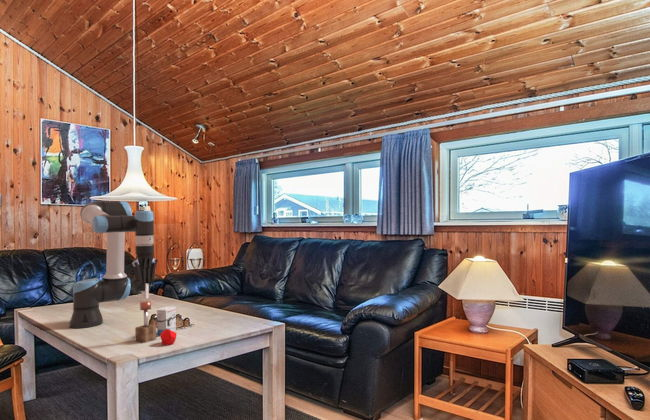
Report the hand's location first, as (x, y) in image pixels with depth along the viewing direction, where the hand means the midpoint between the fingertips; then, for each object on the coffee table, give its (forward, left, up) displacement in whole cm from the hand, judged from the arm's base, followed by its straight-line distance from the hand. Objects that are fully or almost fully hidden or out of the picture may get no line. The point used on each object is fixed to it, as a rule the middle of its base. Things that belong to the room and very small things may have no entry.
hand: (145, 298), depth 185 cm
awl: (0, 0, -17) cm, 17 cm away
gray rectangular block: (0, +24, -19) cm, 30 cm away
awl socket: (0, 0, -19) cm, 19 cm away
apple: (+14, -1, -19) cm, 23 cm away
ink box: (0, +12, -19) cm, 23 cm away
